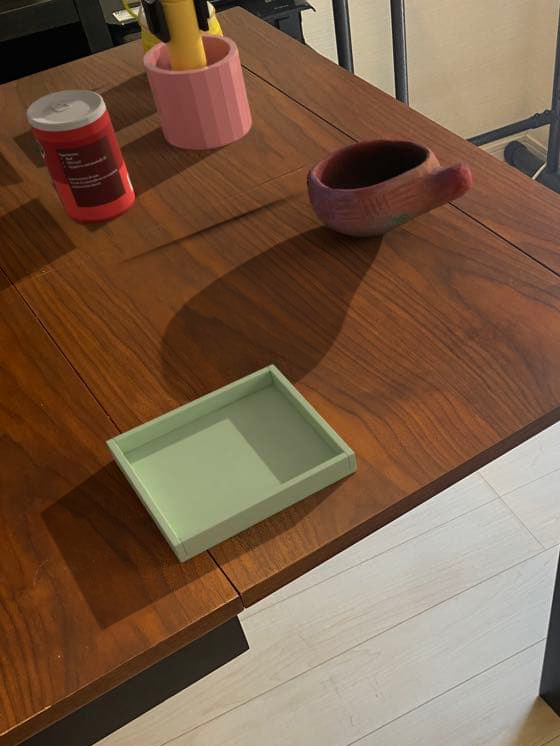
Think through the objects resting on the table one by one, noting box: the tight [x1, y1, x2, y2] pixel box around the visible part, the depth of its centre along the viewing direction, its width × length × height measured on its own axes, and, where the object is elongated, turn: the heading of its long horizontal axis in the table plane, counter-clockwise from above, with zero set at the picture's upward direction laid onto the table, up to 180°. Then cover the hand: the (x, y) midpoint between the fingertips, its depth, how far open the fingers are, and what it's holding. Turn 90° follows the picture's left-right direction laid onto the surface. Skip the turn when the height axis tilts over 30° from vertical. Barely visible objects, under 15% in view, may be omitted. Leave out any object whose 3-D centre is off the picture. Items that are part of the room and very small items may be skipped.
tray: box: [105, 363, 358, 564], centre depth 66 cm, size 15×13×2 cm
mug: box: [121, 0, 224, 56], centre depth 108 cm, size 13×11×12 cm
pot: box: [142, 34, 253, 151], centre depth 98 cm, size 11×11×9 cm
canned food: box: [25, 89, 136, 226], centre depth 88 cm, size 8×8×11 cm
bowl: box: [306, 138, 474, 238], centre depth 84 cm, size 16×13×8 cm
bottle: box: [159, 0, 207, 71], centre depth 94 cm, size 4×4×14 cm
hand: (181, 31), depth 93 cm, fingers closed on bottle, 4 cm apart
